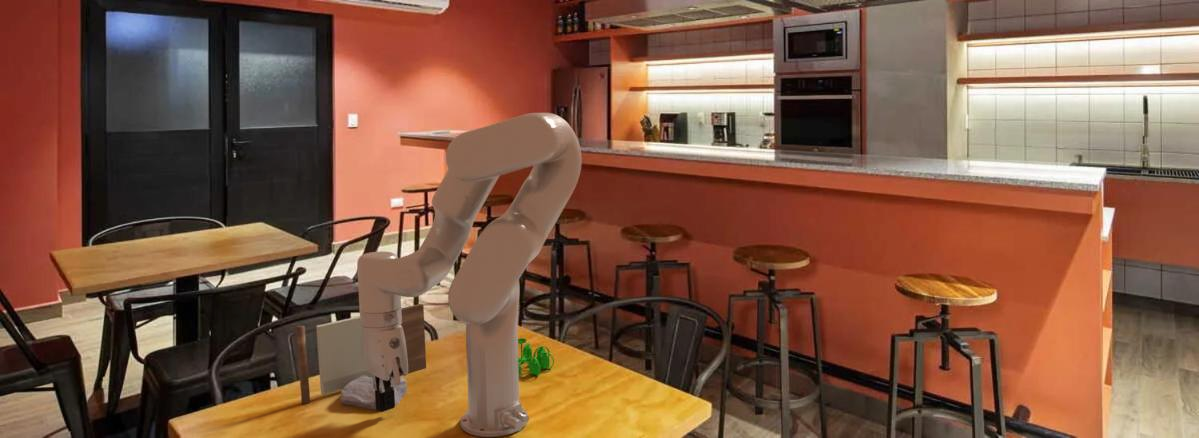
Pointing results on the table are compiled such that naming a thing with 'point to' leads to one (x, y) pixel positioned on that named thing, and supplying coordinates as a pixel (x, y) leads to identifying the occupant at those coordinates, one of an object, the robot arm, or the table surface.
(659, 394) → the table surface
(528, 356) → the chandelier
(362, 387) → the stone block
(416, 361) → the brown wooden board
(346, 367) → the door
